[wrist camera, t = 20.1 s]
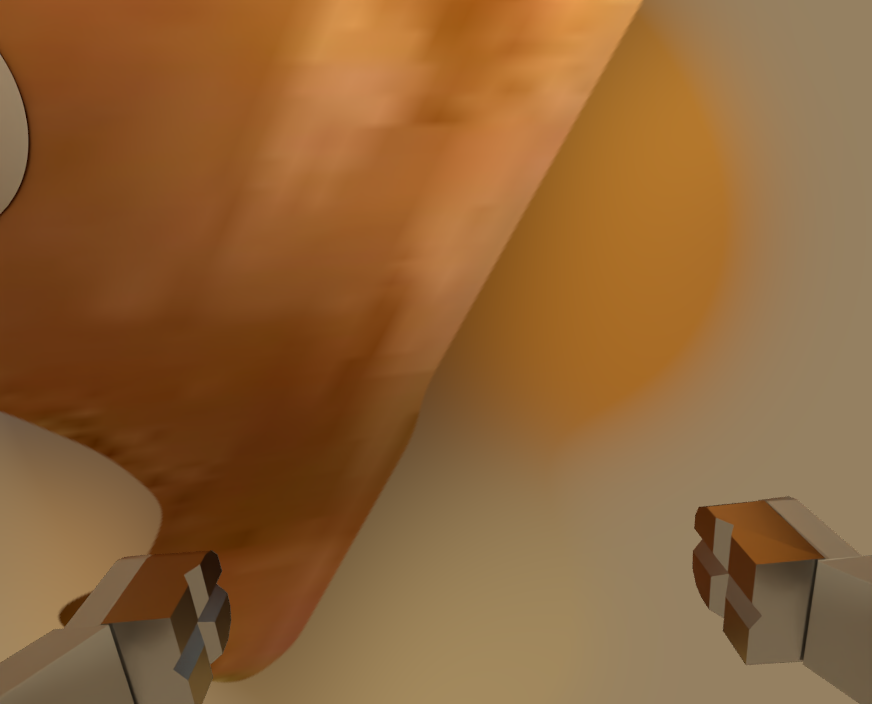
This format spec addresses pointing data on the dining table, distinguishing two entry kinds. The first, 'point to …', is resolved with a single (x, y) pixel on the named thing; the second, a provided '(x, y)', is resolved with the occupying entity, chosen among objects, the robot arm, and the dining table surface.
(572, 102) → the dining table surface
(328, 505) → the dining table surface
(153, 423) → the dining table surface
